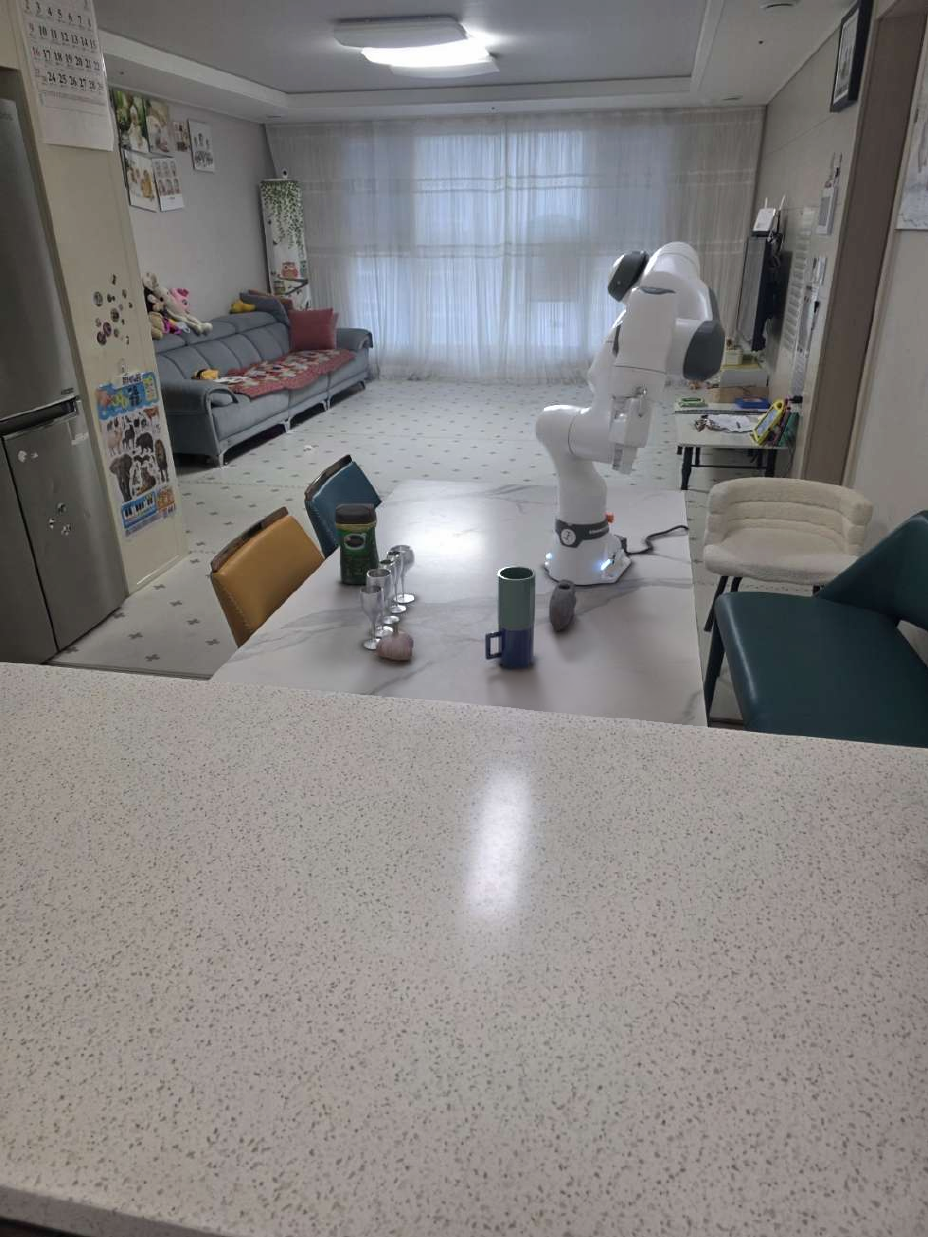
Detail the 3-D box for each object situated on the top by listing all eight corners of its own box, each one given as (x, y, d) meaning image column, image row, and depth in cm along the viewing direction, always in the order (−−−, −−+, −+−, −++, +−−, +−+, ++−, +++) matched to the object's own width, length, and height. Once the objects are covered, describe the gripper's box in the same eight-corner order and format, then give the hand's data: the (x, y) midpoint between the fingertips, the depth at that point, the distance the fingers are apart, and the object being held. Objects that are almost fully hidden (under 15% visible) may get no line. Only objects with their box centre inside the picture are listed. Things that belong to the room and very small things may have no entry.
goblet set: (385, 650, 162) (381, 588, 156) (357, 648, 163) (352, 586, 157) (419, 594, 187) (416, 539, 181) (394, 593, 188) (391, 538, 182)
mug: (523, 650, 161) (523, 612, 158) (539, 664, 156) (540, 626, 152) (478, 659, 158) (478, 622, 154) (493, 674, 152) (492, 636, 149)
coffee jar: (383, 573, 199) (378, 499, 191) (378, 585, 192) (373, 509, 184) (343, 573, 200) (337, 499, 192) (337, 585, 193) (330, 509, 185)
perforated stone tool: (567, 638, 166) (568, 606, 163) (541, 635, 167) (542, 603, 164) (579, 608, 179) (580, 578, 176) (555, 605, 180) (555, 576, 177)
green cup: (511, 612, 158) (511, 563, 154) (541, 620, 154) (542, 571, 150) (490, 624, 153) (490, 574, 149) (521, 633, 150) (521, 583, 145)
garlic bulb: (417, 663, 157) (415, 625, 154) (379, 667, 156) (376, 629, 152) (411, 645, 164) (409, 609, 160) (374, 649, 162) (371, 613, 159)
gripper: (667, 389, 127) (649, 479, 130) (645, 393, 146) (630, 471, 150) (626, 383, 127) (609, 473, 130) (610, 387, 146) (595, 465, 150)
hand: (620, 472), depth 140 cm, fingers open, 8 cm apart
